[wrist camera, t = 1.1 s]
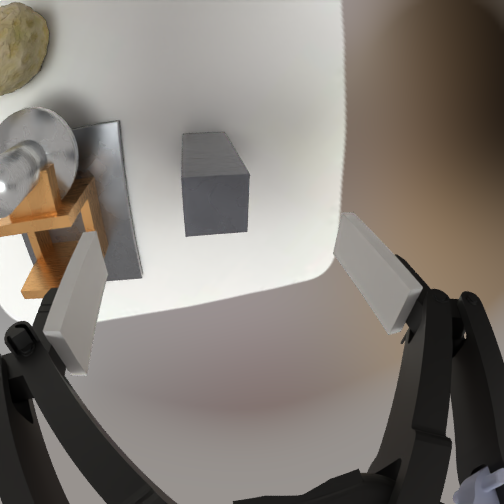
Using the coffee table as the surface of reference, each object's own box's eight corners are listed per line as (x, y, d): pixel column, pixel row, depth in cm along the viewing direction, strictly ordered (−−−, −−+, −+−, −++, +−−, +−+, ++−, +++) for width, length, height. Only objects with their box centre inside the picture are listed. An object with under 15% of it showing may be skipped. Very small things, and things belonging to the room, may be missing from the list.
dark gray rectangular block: (182, 133, 26) (181, 177, 16) (224, 131, 27) (249, 174, 17) (184, 172, 28) (185, 236, 19) (224, 170, 29) (247, 231, 20)
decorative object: (8, 92, 20) (-3, 138, 17) (-44, 49, 11) (-75, 87, 7) (66, 33, 20) (69, 61, 16) (18, -19, 10) (0, -11, 7)
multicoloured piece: (-2, 116, 19) (-74, 154, 9) (117, 85, 22) (71, 98, 12) (44, 280, 31) (16, 354, 22) (142, 272, 34) (135, 354, 24)
